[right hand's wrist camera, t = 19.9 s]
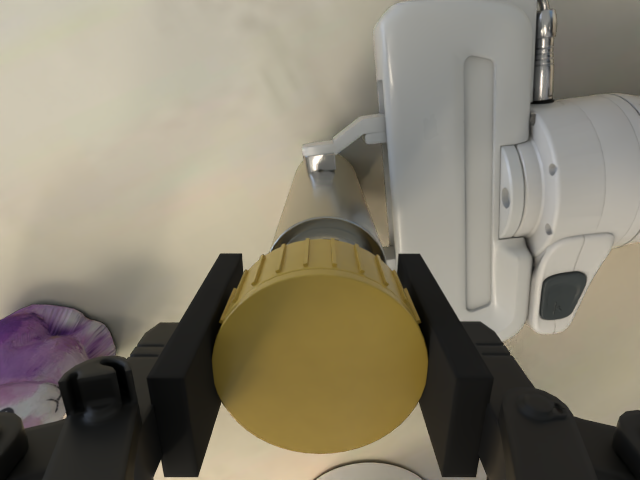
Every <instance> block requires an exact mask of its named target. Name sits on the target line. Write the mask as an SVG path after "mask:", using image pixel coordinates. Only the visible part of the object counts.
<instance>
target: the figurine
mask: <svg viewBox="0 0 640 480" xmlns="http://www.w3.org/2000/svg"><path fill="white" fill-rule="evenodd" d="M115 349H116V348H115V345H114V342H113V340H112V337H111V334H110V331H108V328H107V327H106V326H105V325H104V324H103V323H101V322H98V321H95V320H90V319H88V318H86V317H85V316H84V315H83V313H81V312H80V311H78V310H76V309H74V308H72V309H71V308H69V307H61V306H55V305H42V304H40V305H38V304H34V305H30V306H27V307H24V308H22V309H19V310H18V311H16V312H14V313H12V314H11V315H9V316H7V317H5V318H4V319H2V320H0V412H9V413H15V414H16V415H18V416H19V417H20V418H21V419H22V422H23V425H24V428H29V427H33V426H38V425H42V424H46V423H51V422H55V421H59V420H62V418H63V416H64V415H65V413H66V410H65V407H64V403H63V399H62V396H61V392H60V389H59V385H58V381H59V380H60V379H61V377H62V376H63V375H64V373H66V372H67V371H68V370H70V369H71V368H73V367H74V366H75V365H78V364H80V363H82V362H84V361H86V360H89V359H93V358H97V357H101V356H114V355H116V350H115Z"/></svg>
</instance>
